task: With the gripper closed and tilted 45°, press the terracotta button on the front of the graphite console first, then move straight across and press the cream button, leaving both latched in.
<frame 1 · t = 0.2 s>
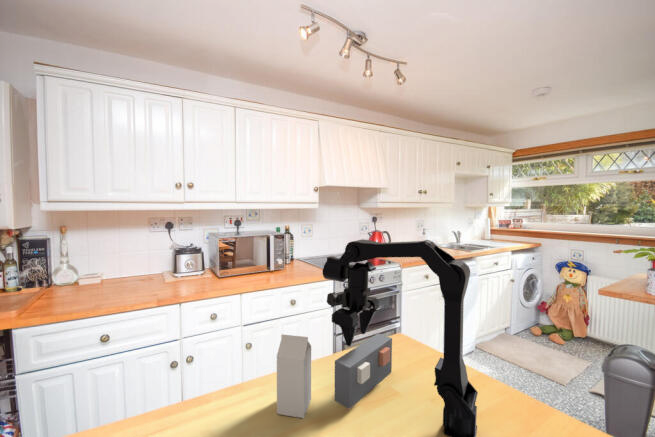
hand: (356, 339, 82), 15 cm above the counter, tool pointing down, fingers open, 9 cm apart
terracotta button: (383, 356, 87), point 7 cm above the counter, slide at 0.0 cm
console: (365, 385, 85), on the counter
cream button: (363, 372, 78), point 8 cm above the counter, slide at 0.0 cm
milk carton: (294, 407, 76), on the counter
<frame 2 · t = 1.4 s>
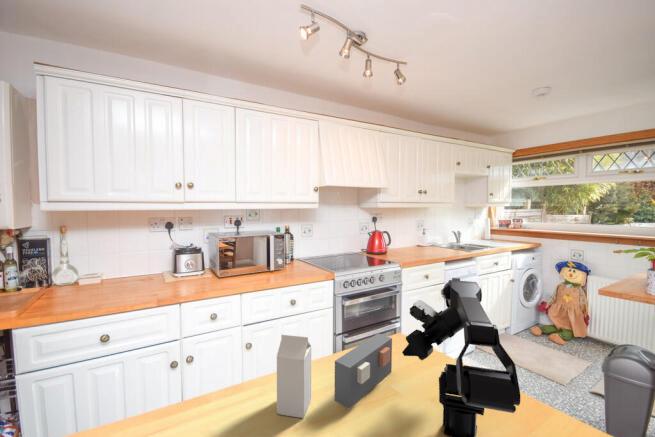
hand: (409, 349, 81), 13 cm above the counter, tool tilted 45°, fingers open, 7 cm apart
nothing on the counter moved.
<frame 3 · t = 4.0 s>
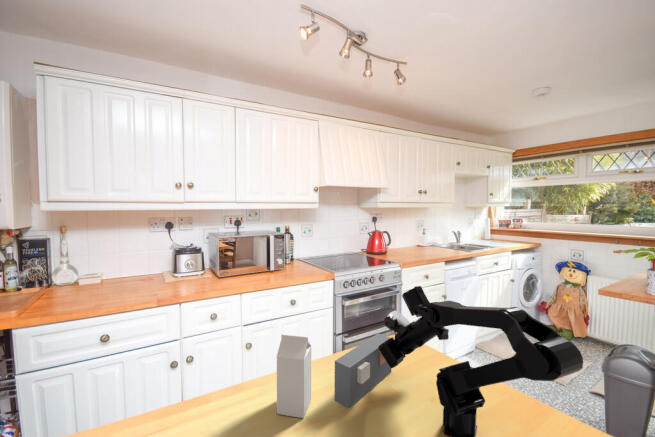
hand: (384, 356, 87), 8 cm above the counter, tool tilted 45°, fingers closed, pressing on terracotta button
terracotta button: (381, 355, 87), point 7 cm above the counter, slide at 1.0 cm, touching gripper
everything else where it was.
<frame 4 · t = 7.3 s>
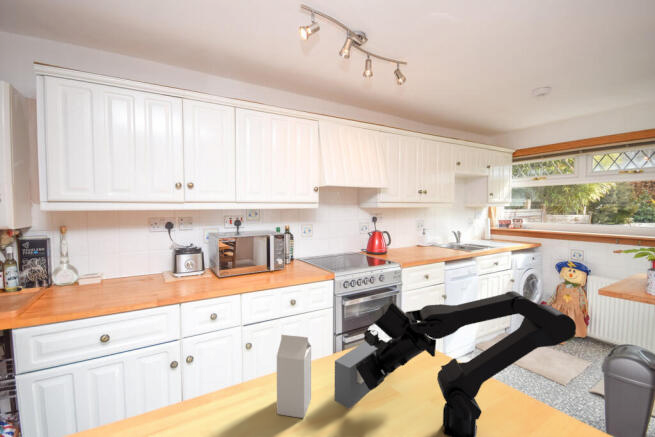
hand: (365, 373, 78), 8 cm above the counter, tool tilted 45°, fingers closed, pressing on cream button
terracotta button: (379, 354, 88), point 7 cm above the counter, slide at 1.4 cm
cream button: (362, 371, 79), point 8 cm above the counter, slide at 0.3 cm, touching gripper
everything else where it was.
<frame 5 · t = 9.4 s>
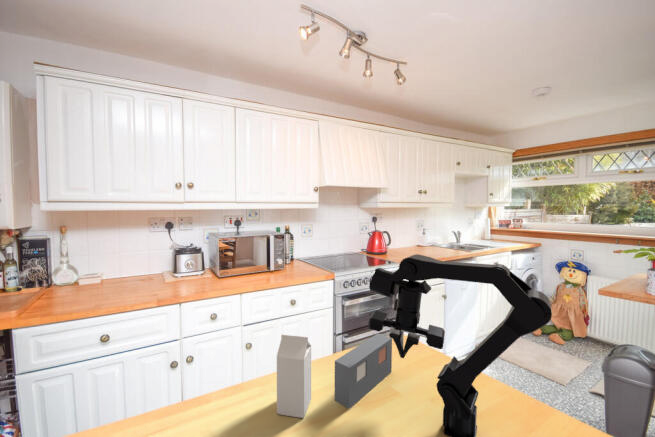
hand: (402, 357, 78), 12 cm above the counter, tool pointing down, fingers closed
cream button: (358, 370, 79), point 8 cm above the counter, slide at 1.4 cm
everything else where it was.
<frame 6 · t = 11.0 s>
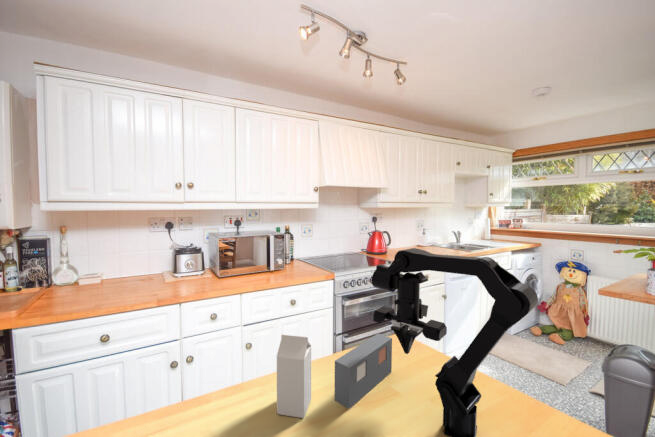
hand: (406, 353, 78), 13 cm above the counter, tool pointing down, fingers closed
nothing on the counter moved.
at the end: terracotta button slide at 1.4 cm; cream button slide at 1.4 cm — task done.
